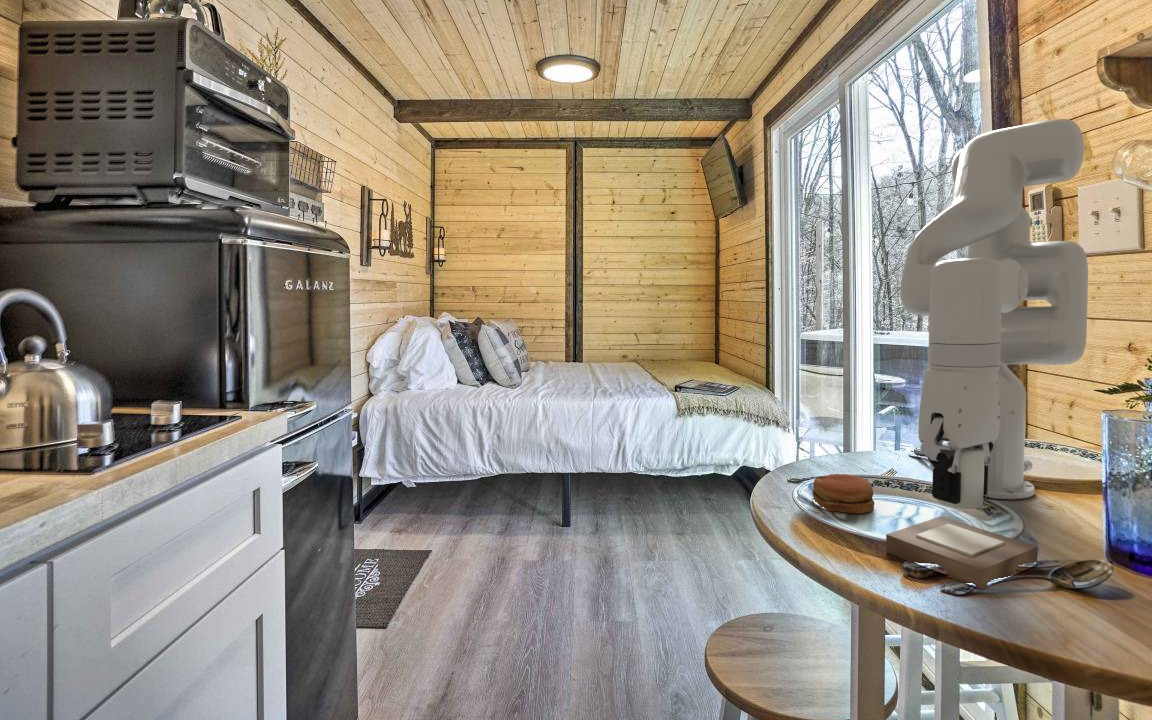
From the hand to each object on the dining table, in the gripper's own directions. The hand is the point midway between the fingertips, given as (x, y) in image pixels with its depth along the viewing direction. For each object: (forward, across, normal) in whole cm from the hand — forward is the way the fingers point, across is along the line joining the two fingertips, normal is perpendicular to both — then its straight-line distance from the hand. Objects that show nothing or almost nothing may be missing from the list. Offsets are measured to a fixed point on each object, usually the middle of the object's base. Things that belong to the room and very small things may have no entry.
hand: (959, 495), depth 73 cm
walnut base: (+9, 0, 0) cm, 9 cm away
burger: (+9, -4, -21) cm, 24 cm away
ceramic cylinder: (+1, 0, 0) cm, 1 cm away
